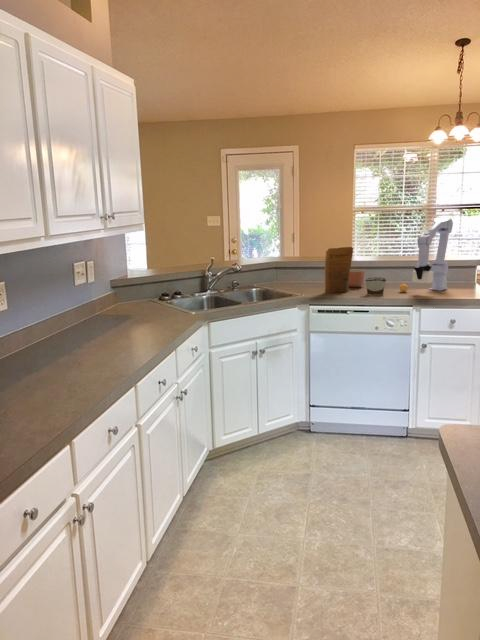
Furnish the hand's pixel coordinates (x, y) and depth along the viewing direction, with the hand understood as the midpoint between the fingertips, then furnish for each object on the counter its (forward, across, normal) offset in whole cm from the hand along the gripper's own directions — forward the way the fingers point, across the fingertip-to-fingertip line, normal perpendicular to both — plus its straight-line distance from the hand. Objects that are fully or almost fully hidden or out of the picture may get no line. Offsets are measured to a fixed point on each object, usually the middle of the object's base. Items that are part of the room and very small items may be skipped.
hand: (422, 278), depth 310 cm
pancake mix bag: (+10, -28, +41) cm, 50 cm away
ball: (+7, 0, +12) cm, 14 cm away
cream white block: (+2, 0, 0) cm, 2 cm away
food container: (+10, -18, +21) cm, 29 cm away
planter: (+10, -3, +46) cm, 47 cm away
